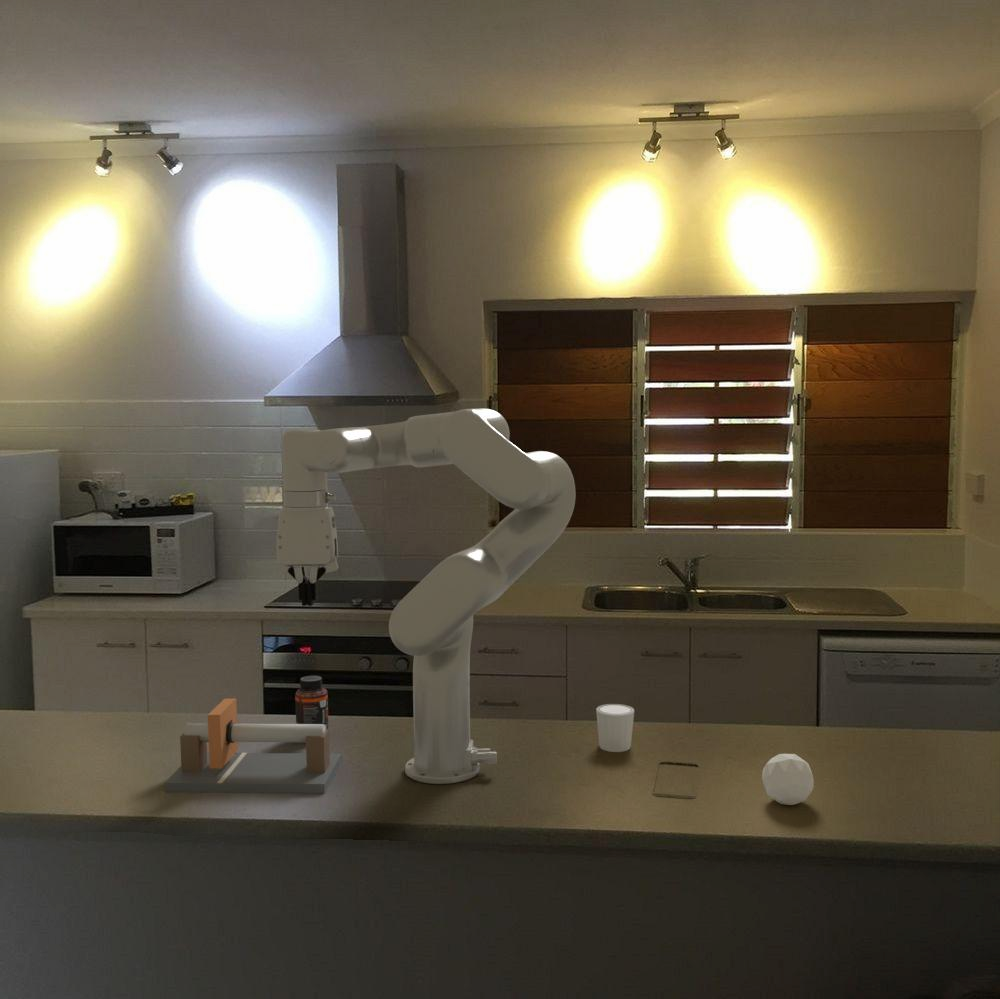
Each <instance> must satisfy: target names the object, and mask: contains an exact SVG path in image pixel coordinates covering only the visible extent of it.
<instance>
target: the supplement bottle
mask: <svg viewBox="0 0 1000 999" xmlns="http://www.w3.org/2000/svg"><path fill="white" fill-rule="evenodd" d="M299 685H300V687H299V688H298V689H297V691H296V692H295V696H294V697H295V724H324V725H325V729H328V730H329V731H330V729H329V706H328V705H329V704H328V703H329V698H328V690H327V689H326V688H325V687H324V686H323V678H322V677H321V676H319V675H307V676H303V677H300V679H299Z"/></svg>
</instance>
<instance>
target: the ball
mask: <svg viewBox="0 0 1000 999" xmlns="http://www.w3.org/2000/svg"><path fill="white" fill-rule="evenodd" d="M761 775H762V777H761V779H762V783H763V785H764V789H765V791H766V794H767V796H769V797H770V798H771V799H772V800H774V801H775V802H777V803H779V805H787V806H794V805H797V804H799V803H802V802H805V801H806V799H807V798H808V797H809V795H810V794H811V793H812V792H813V790H814V787H815V786H814V784H815V783H814V782H815V779H814V776H813V772H812V770H811V767H810V764H809V763H808V762H807V761H806V760H804V759H803V758H801V757H800V756H798V755H797V754H795V753H778V754H777V755H775V756H773V757H771V758H770V759H769V760H768V762H766V764H765V765H764V767H763V769H762V774H761Z"/></svg>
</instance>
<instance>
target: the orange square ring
mask: <svg viewBox="0 0 1000 999" xmlns="http://www.w3.org/2000/svg"><path fill="white" fill-rule="evenodd" d="M237 706H238V705H237V698H224V699H223V700H222V701H220V702H219V703H218V704H217V706H215V707H214V708H213V709H212V710H211V711H210V712H209V713H208V714H207V723H208V734H209V742H208V753H209V761H210V768H217V769H222V768H223V767H224V765H225V764H226V763H227V762H228V761H229V760H230V759H231V757H232V756H233V755H234V754H235V753H238V751H239V742H234V743H228V742H226V725H227V724H229V723H236V724H238V713H237V712H238V708H237Z"/></svg>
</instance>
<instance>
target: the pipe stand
mask: <svg viewBox="0 0 1000 999" xmlns="http://www.w3.org/2000/svg"><path fill="white" fill-rule="evenodd" d="M328 729H329V728H328ZM328 729H325V725H324V724H296V723H237V724H236V723H229V724H227V725H226V742H228V743H234V742H238V743H305V752H306V753H293V752H292V753H284V752H283V753H281V752H279V753H278V752H277V753H276V752H275V753H272V752H269V753H268V752H267V753H266V752H257V753H256V752H251V753H250V752H236V753H235V754H234V755H233V756H232V757H231V759H230V760H229V761H228V762H227V763H226V764H225V765H224V767H223V768H222V769H217V768H210V761H209V752H208V750H207V743H209V734H208V722H206V723H205V722H204V723H198V722H197V723H196V722H195V723H193V722H192V723H191V722H190V723H188V722H187V723H186V724H185V727H184V732H183V733H181V735H180V736H179V740H180V741H179V742H180V766H179V767H178V768H177V769H176V770H175V772H173V774H171V775H170V776H169V778H168V779H166V781H165V782H164V792H165V793H169V792H171V793H173V792H174V793H267V794H268V793H271V794H273V793H275V794H276V793H278V794H279V793H280V794H281V793H282V794H289V793H290V794H325V793H326V791H327V790H328V788H329V786H330V784H331V783H332V781H333V778H334V777H335V775H336V773H337V772H338V770H339V768H340V766H341V764H342V763H343V762H342V753H330V729H329V730H328Z"/></svg>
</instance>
